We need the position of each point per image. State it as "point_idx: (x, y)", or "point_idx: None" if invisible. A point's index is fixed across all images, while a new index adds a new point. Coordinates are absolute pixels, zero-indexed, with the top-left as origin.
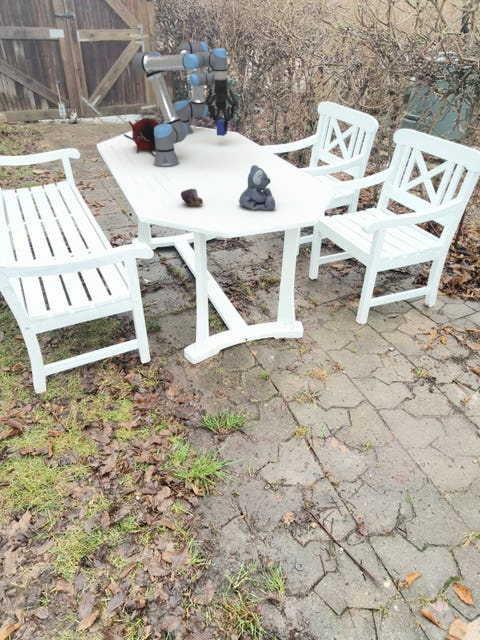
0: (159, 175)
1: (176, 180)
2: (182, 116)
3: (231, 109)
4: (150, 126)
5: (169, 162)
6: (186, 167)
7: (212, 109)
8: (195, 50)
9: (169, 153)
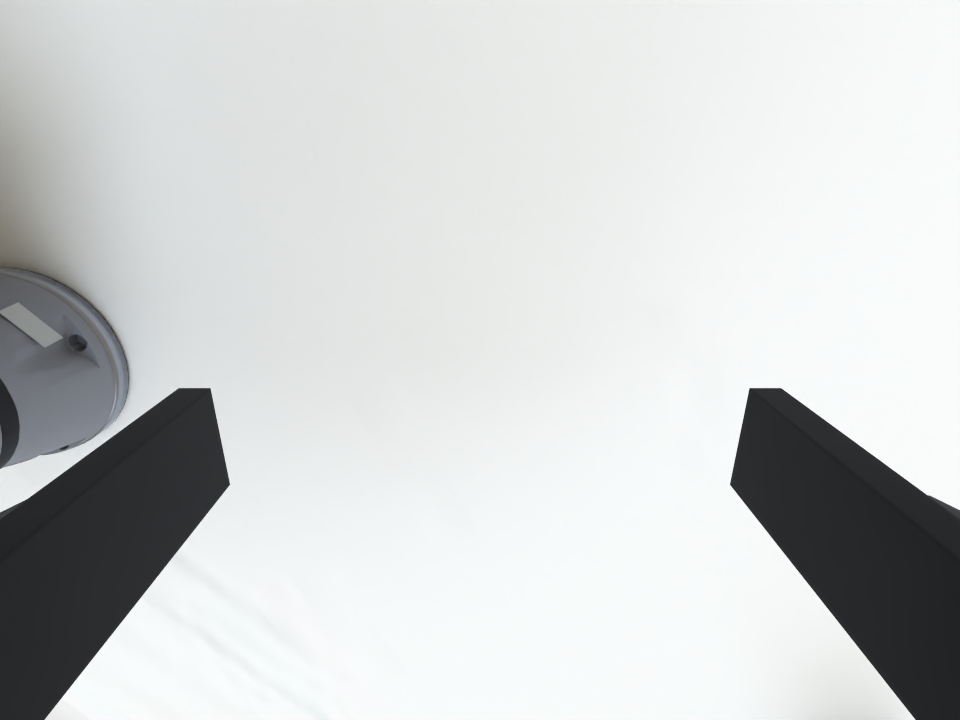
0: (186, 591)
1: (335, 635)
2: None
3: (916, 681)
4: None
5: (92, 433)
6: (240, 403)
7: (75, 508)
8: None
9: (27, 443)
